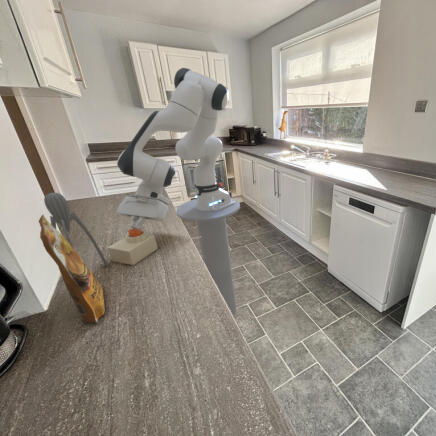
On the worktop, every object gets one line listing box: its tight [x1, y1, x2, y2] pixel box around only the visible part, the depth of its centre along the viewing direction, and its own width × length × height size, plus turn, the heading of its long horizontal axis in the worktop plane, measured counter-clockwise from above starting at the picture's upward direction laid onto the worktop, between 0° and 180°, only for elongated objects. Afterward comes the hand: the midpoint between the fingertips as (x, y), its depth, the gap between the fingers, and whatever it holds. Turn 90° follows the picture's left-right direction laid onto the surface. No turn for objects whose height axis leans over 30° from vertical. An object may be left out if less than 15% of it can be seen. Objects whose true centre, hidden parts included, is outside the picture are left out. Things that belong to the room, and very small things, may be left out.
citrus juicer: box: [43, 192, 108, 268], centre depth 75 cm, size 11×10×30 cm
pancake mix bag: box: [38, 214, 106, 324], centre depth 64 cm, size 7×19×28 cm, turn 38°
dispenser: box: [106, 229, 158, 266], centre depth 93 cm, size 12×10×8 cm
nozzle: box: [127, 227, 143, 237], centre depth 93 cm, size 4×4×2 cm
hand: (134, 228), depth 92 cm, fingers closed
